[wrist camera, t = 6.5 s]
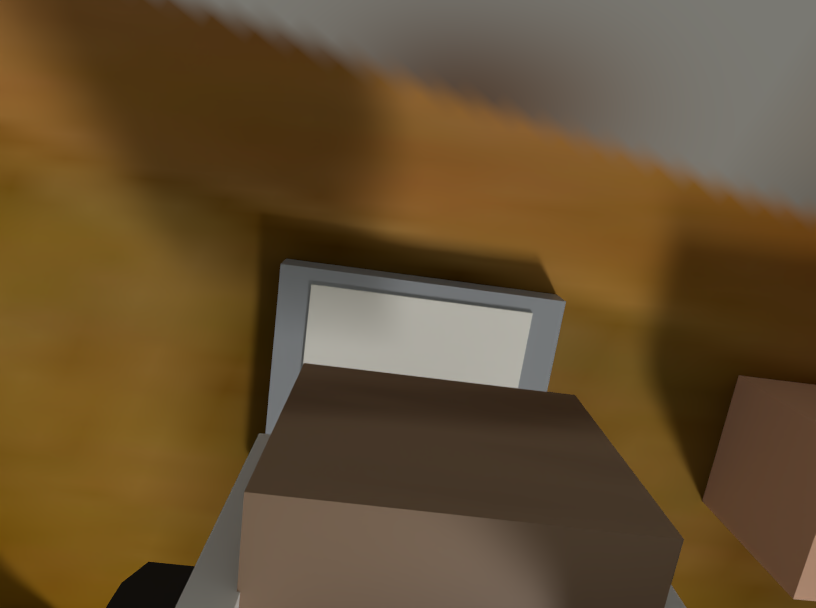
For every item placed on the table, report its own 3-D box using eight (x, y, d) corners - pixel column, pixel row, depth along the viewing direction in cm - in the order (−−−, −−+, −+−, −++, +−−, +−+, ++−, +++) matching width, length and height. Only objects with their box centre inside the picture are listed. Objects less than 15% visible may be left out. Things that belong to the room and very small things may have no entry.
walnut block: (304, 363, 12) (243, 491, 8) (575, 395, 13) (683, 539, 8) (281, 596, 14) (219, 831, 9) (526, 620, 14) (592, 859, 9)
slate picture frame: (266, 478, 20) (259, 496, 19) (286, 258, 19) (280, 264, 18) (513, 505, 21) (519, 524, 20) (556, 294, 19) (566, 302, 18)
